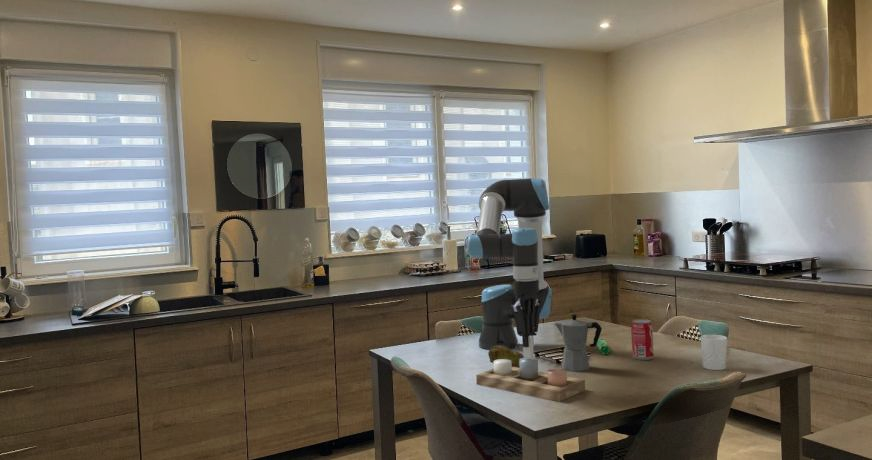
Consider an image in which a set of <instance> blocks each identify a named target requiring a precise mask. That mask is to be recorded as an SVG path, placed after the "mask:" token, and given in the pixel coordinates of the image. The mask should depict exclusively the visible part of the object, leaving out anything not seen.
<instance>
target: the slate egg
mask: <svg viewBox="0 0 872 460" xmlns="http://www.w3.org/2000/svg"><path fill="white" fill-rule="evenodd" d="M519 365H520V377H522V378H536V377H538V371H539V359H538V358H536V357H533V358H526V357H525V358H521V359H519Z"/></svg>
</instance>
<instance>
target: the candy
mask: <svg viewBox="0 0 872 460" xmlns="http://www.w3.org/2000/svg"><path fill="white" fill-rule="evenodd" d="M596 347H597V348H598V350H599V352H600V353H601V355H602V356H603V355H606V354H607V355H610V354H611V352H612V351H611V349H610V347H609V345H608V342H607V341H605V339H603V338H599V339H598V342H597V345H596Z"/></svg>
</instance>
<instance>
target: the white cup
mask: <svg viewBox="0 0 872 460" xmlns="http://www.w3.org/2000/svg"><path fill="white" fill-rule="evenodd" d="M727 348H728V337H727V336H725V335H721V334H703V335H701V336H700V349H701V359H702V367H703V368H704V369H706V370H710V371H722V370H726V367H727V364H726V363H727V361H726V360H727V354H728V353H727Z"/></svg>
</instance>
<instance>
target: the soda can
mask: <svg viewBox="0 0 872 460" xmlns="http://www.w3.org/2000/svg"><path fill="white" fill-rule="evenodd" d="M653 327H654V326H653V324H652V320H650V319H645V318H643V319H641V318H640V319H634V320H632V323H631V327H630V330H631V355H632V357H633V358H634V359H635V360H639V361H650V360H652V359H653V357H654V356H655V353H654V331H653V330H654V329H653Z"/></svg>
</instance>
